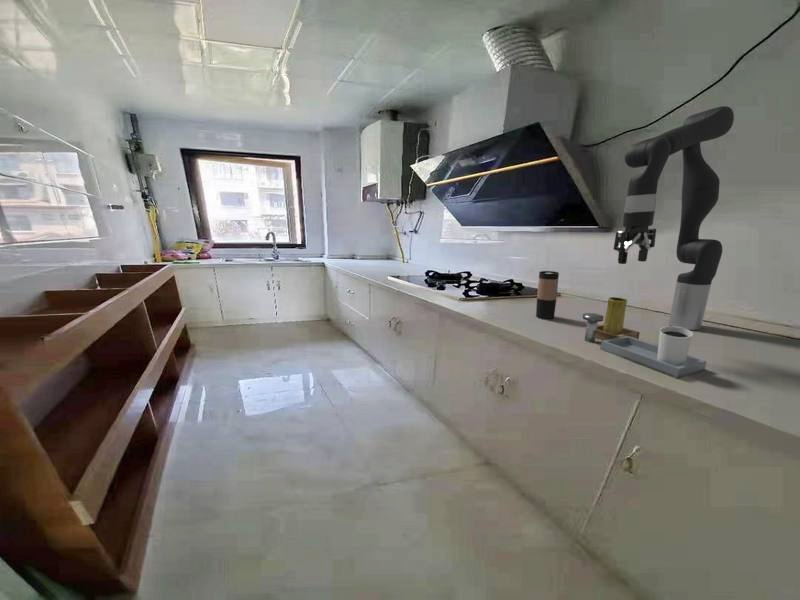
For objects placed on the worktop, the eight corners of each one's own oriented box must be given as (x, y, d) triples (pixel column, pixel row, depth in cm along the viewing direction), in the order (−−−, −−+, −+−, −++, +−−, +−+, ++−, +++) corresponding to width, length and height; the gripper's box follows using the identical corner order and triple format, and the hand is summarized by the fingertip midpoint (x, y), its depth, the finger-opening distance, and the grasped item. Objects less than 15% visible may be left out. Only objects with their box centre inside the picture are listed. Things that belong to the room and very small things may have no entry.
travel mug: (533, 314, 135) (536, 271, 131) (550, 314, 134) (555, 270, 129) (538, 319, 128) (542, 273, 123) (557, 320, 127) (562, 273, 122)
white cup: (673, 355, 87) (679, 325, 83) (693, 368, 81) (700, 336, 77) (649, 358, 88) (653, 327, 84) (666, 371, 81) (672, 338, 78)
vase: (625, 341, 103) (632, 301, 99) (606, 340, 104) (612, 300, 101) (617, 334, 109) (623, 297, 105) (598, 334, 110) (603, 296, 106)
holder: (607, 330, 113) (608, 323, 112) (638, 340, 103) (639, 332, 102) (586, 334, 110) (587, 327, 109) (616, 345, 100) (617, 337, 99)
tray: (625, 343, 101) (626, 335, 100) (704, 370, 82) (706, 360, 81) (600, 349, 97) (601, 341, 96) (676, 378, 78) (679, 368, 77)
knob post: (588, 336, 108) (591, 312, 106) (604, 342, 102) (607, 316, 100) (575, 339, 106) (578, 314, 104) (591, 345, 101) (595, 319, 98)
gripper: (643, 210, 98) (636, 259, 102) (610, 212, 94) (604, 263, 98) (669, 209, 91) (660, 261, 95) (634, 211, 87) (626, 265, 91)
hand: (632, 262), depth 97 cm, fingers open, 8 cm apart
